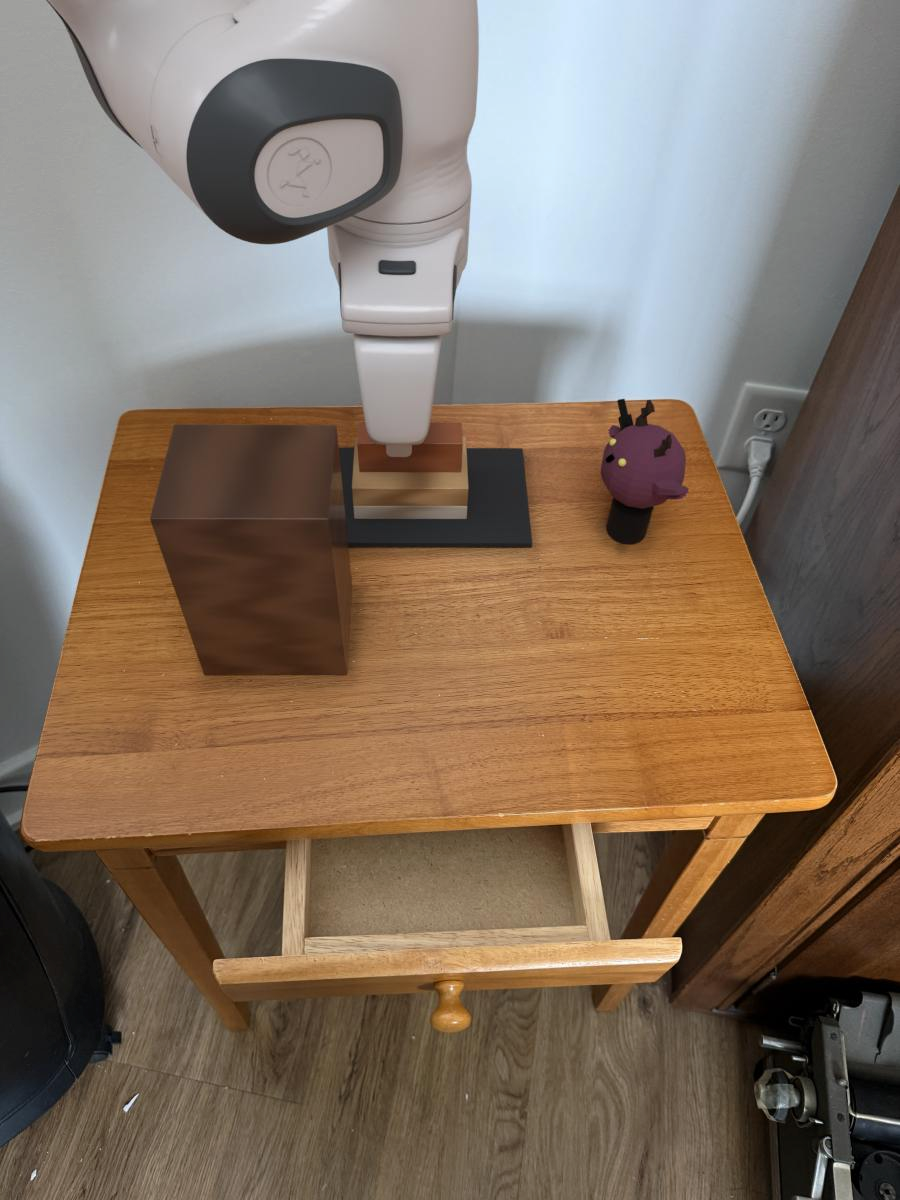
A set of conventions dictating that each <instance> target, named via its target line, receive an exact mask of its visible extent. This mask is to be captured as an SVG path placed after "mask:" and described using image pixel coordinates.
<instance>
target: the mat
mask: <svg viewBox="0 0 900 1200" xmlns="http://www.w3.org/2000/svg"><path fill="white" fill-rule="evenodd" d="M354 448H355V446H354V447H353V446H351V447H350V446H339V456H340V466H341V476H342V487H343V497H344V507H345V518H346V528H347V538H348V548H484V549H485V548H491V549H493V548H494V549H495V548H496V549H497V548H502V549H503V548H508V549H509V548H517V549H519V548H522V549H523V548H524V549H525V548H532V547H533V539H532V538H533V537H532V528H531V517H530V509H529V500H528V489H527V478H526V469H525V459H524V452H523V448H522V447H466V448H467V468H468V505H467V518H466V519H355V518H354V507H353V506H354V505H353V495H352V479H353V463H354Z"/></svg>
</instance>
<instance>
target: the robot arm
mask: <svg viewBox="0 0 900 1200" xmlns="http://www.w3.org/2000/svg"><path fill="white" fill-rule="evenodd" d="M45 1H46V2H47V3H48V4H49V5H50V7H51V8H52V9H53V11H54V12H55V13H56V14H57V16H58V17H59V19H60V20H61V21H62V23H63V25H64V27H65V29H66V31H67V33H68V36H69V37H70V40H71V42H72V44H73V47H74V49H75V52H76V54H77V57H78V59H79V62H80V64H81V67H82V70H83V73H84V75H85V77H86V80H87V81H88V84H89V87H90V88H91V91H92V93H93V95H94V97H95V98H96V100H97V102H98V104H99V106H100V107H101V108H102V110H103V111H104V113H105V114H106V116H107V117H108V118H109V119H110V121H111V122H112V123H113V125H115V126H116V127H117V128H118V129H119V130H120V131H121V132H122V133H123V134H125V135H126V136H127V137H128V138H129V139H130V140H132V141H133V142H134V143H135V144H136V145H137V146H138V147H140V148H141V149H142V150H144V151H145V152H146V154H147V155H148V156H149V157H150V158H151V159H152V160H153V161H154V162H155V164H157V166H158V167H159V168H160V169H161V170H162V171H163V172H164V173H165V174H166V175H167V176H168V177H169V178H170V180H171V181H172V182H173V183H174V184H175V185H176V186H177V187H178V188H179V189H180V190H181V191H182V193H184V195H185V196H186V197H187V198H188V199H189V200H190V201H191V203H193V204H194V206H196V208H198V209H199V210H200V211H201V212H202V213H203V214H204V215H205V216H206V217H207V218H208V219H209V221H211V222H212V223H213V224H214V225H215V226H217V228H219V229H220V230H221V231H223V232H224V233H226V234H227V235H230V236H231V237H234V239H235V238H236V239H238V240H240V241H244V242H247V243H251V244H256V245H280V244H285V243H289V242H293V241H296V240H298V239H301V238H304V237H306V236H309V235H311V234H314V233H316V232H319V231H321V230H324V229H326V231H327V232H326V233H327V234H326V235H327V246H328V247H327V248H328V257H329V259H328V260H329V262H330V265H331V267H332V269H333V273H334V276H335V279H336V282H337V284H338V289H339V309H340V318H341V328H342V330H343V332H345V333H347V334H352V341H353V350H354V358H355V366H356V372H357V374H356V375H357V380H358V386H359V393H360V399H361V407H362V412H363V417H364V422H365V424H366V429H367V432H368V435H369V437H370V439H371V440H372V441H373V442H374V443H376V444H382V445H386V453H387V455H388V456H390V457H408V456H410V455H411V453H412V445H418V444H421V443H422V442H423V441H424V440H425V438H426V436H427V434H428V430H429V426H430V422H431V419H432V413H433V407H434V400H435V393H436V387H437V379H438V371H439V364H440V363H439V362H440V357H441V349H442V348H441V347H442V342H443V341H442V339H443V336H447V335H450V334H451V332H452V330H453V320H454V312H455V311H454V309H455V299H456V293H457V289H458V286H459V284H460V281H461V279H462V275H463V273H464V270H465V269H466V267H467V264H468V258H469V242H470V241H469V240H470V223H471V207H472V205H471V203H472V191H473V184H472V183H473V181H472V180H473V179H472V173H471V169H470V165H469V162H468V161H469V160H468V145H469V139H470V136H471V133H472V130H473V127H474V124H475V122H476V116H477V104H478V88H479V64H480V61H479V58H480V26H479V24H480V23H479V8H478V0H252V1H251V2H249V1H248V0H45Z"/></svg>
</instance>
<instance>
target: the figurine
mask: <svg viewBox="0 0 900 1200" xmlns="http://www.w3.org/2000/svg"><path fill="white" fill-rule="evenodd" d="M616 403H617V407H618V411H619V417H618V419H617V420H618V424H619V426H618V425H615V424H612V425H611V426H610V427H609V429H608V436H609V437H610V438H611V439H610V440H608V442H607V444H605V447H604V451H603V454H602V460H601V466H600V476H601V479H602V482H603V483H604V485H605V487H606V489H607V491H608V492H609V494H610V496H611V497H612V500H611V504H610V508H609V513H608V517H607V520H606V524H605V525H606V526H605V529H606V533H607V535H608V536H609V538H611V539H612V540H613V541H615V542H616V543H619V544H622V545H635V544H638V543H640V542H642V541H643V540H644V539H645V538H646V536H647V531H648V528H649V525H650V522H651V518H652V515H653V511H654V507H657V506H660V505H662V504H664V503H665V502H666V501H668V500H682V499H684V497H687V494H689V487H687V486H685V485H683V482H684V480H685V474H686V464H687V457H686V451H685V449H684V447H683V446H682V445H681V443H680V441H679V440H678V439H677V437H676V436H675V434H674V433H673V432H671V431H669V430H668V429H666V428H664V427H662V426H661V425H658V424H651V423H648V418H647V417H648V416H649V415H650V414H652V413H655V412H656V411H655V405H654V403H653V402H652V400H651V399H647V400H646V403H645V407H641V408H640V414H639V416H637V417H636V418H635V421H634V420H633V415H632V413H630V414H629V412H628V408H627V403H626V399H625V398H620V399H617V401H616Z"/></svg>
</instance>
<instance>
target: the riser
mask: <svg viewBox="0 0 900 1200" xmlns="http://www.w3.org/2000/svg"><path fill="white" fill-rule="evenodd" d="M168 442H169V443H168V446H167V451H166V453H165V454H166V455H165V457H164V461H163V466H162V469H161V472H160V478H159V482H158V485H157V488H156V492H155V496H154V500H153V505H152V508H151V513H150V516H149V521H150V523H151V526H152V530H153V532H154V535H155V538H156V540H157V543H158V547H159V549H160V552H161V555H162V558H163V561H164V564H165V567H166V569H167V573H168V575H169V578H170V581H171V583H172V586H173V588H174V592H175V595H176V598H177V601H178V604H179V607H180V609H181V612H182V614H183V618H184V621H185V624H186V627H187V629H188V632H189V635H190V638H191V641H192V644H193V647H194V650H195V653H196V655H197V658H198V661H199V665H200V667H201V671H202V673H203V675H204V676H347V675H348V664H349V663H348V662H349V648H350V647H349V646H350V631H351V630H350V628H351V615H352V599H353V597H352V596H353V582H352V581H353V579H352V572H351V571H352V569H351V561H350V550H349V549H350V548H349V547H348V538H347V528H346V518H345V507H344V497H343V487H342V476H341V466H340V456H339V447H340V446H339V436H338V427H337V425H336V424H212V423H211V424H205V423H204V424H196V423H195V424H193V423H190V424H189V423H188V424H187V423H186V424H185V423H182V424H181V423H174V424H173V427H172V431H171V434H170V438H169V441H168Z"/></svg>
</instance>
